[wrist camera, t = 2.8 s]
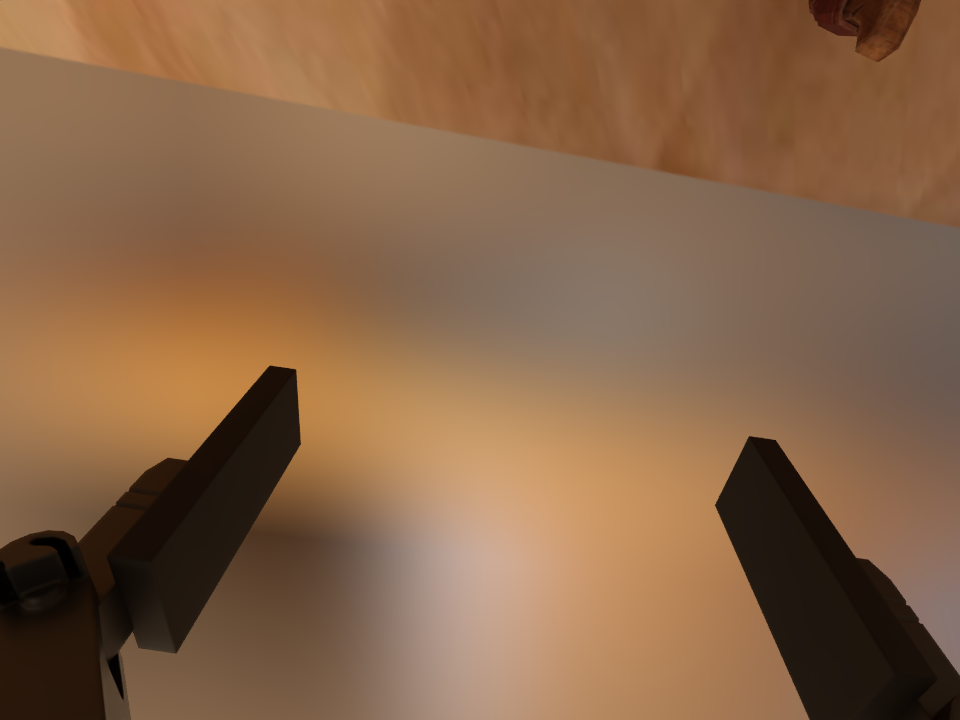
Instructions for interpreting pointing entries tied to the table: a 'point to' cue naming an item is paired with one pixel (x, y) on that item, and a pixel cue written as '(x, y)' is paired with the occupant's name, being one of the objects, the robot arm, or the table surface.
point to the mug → (867, 22)
